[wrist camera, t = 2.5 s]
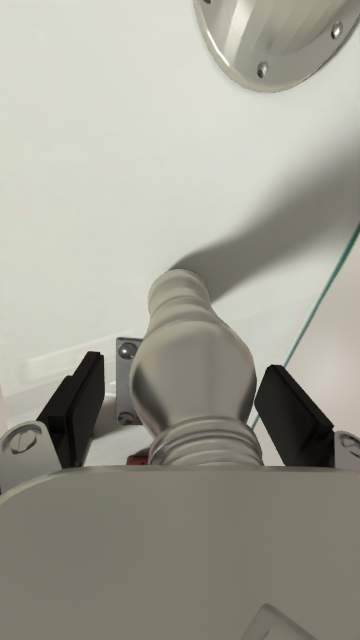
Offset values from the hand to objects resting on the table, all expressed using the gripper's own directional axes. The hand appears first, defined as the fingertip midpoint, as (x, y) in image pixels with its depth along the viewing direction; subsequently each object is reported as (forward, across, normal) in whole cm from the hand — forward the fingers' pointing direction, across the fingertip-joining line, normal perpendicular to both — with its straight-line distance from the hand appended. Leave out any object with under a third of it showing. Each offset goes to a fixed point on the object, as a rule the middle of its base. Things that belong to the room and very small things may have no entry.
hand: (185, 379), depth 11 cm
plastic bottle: (+14, 0, -1) cm, 14 cm away
